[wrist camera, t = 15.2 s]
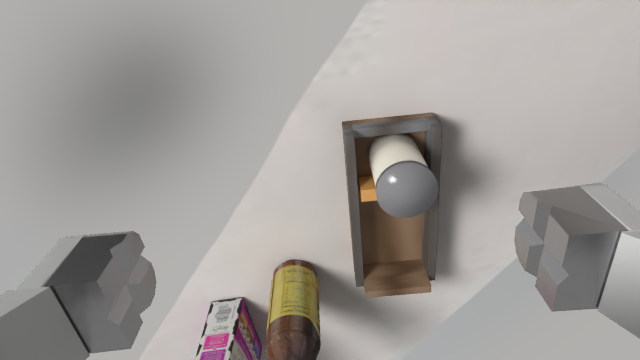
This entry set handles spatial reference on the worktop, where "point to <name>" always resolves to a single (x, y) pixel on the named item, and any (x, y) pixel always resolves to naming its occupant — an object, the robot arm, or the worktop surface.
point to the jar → (401, 176)
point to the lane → (383, 229)
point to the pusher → (367, 188)
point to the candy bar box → (229, 333)
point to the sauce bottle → (293, 313)
